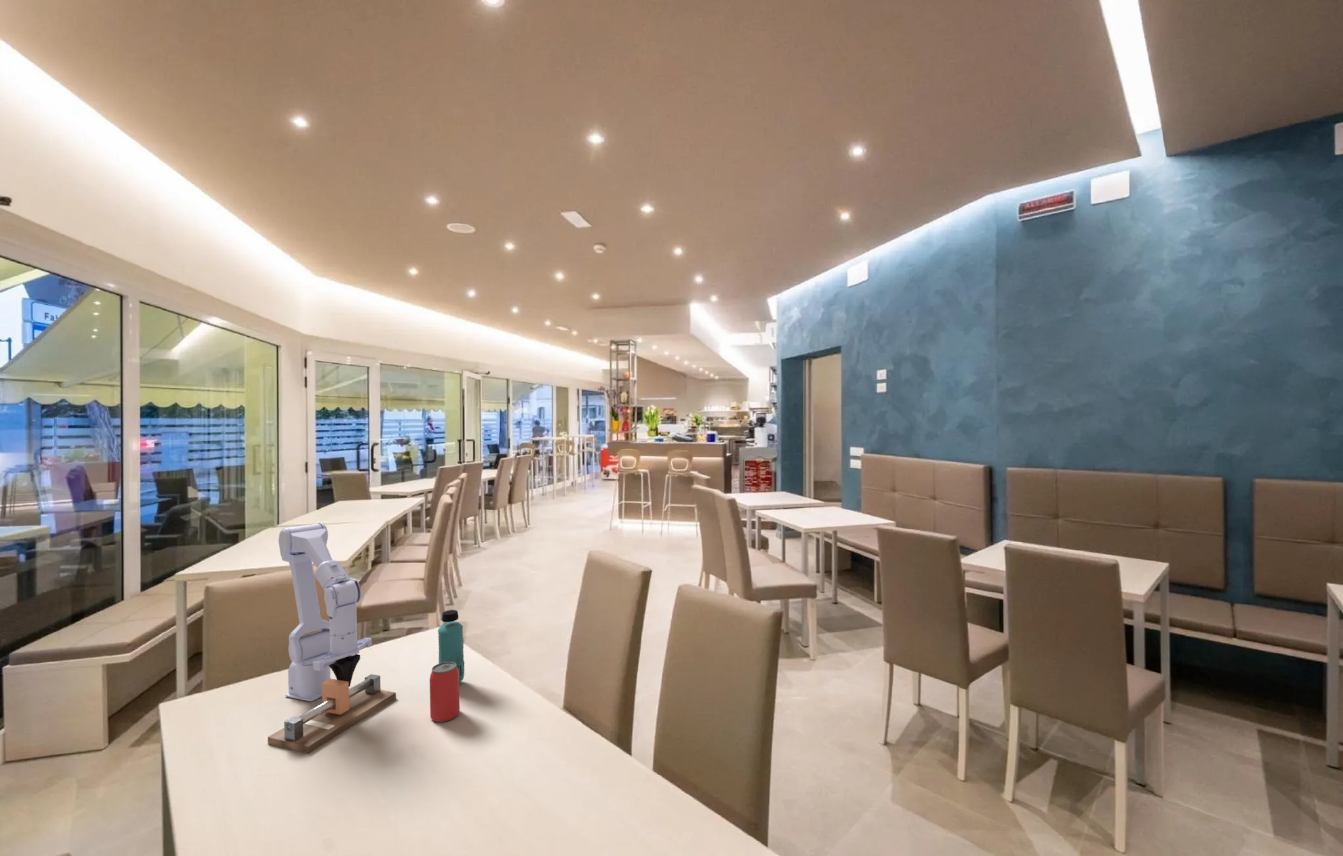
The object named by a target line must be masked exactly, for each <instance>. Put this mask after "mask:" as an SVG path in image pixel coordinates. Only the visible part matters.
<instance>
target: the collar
mask: <svg viewBox="0 0 1343 856" xmlns="http://www.w3.org/2000/svg"><path fill="white" fill-rule="evenodd" d="M349 689H350V687H349V682H347V681H342V680H337V678H336V679H335V678H331V679H329V680H327V681H325V682H323V683H322V697H321V701H322V703H321V704H323V703H324V702H326V701H328V700H330V699H332V698H335V699H336V706H335V707H333V708H331V709H329V710H328V711H326V712H330V713H335V714H340V715H341V714H342V713H344V712H346V711H347V710H349Z"/></svg>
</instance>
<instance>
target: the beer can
mask: <svg viewBox="0 0 1343 856" xmlns="http://www.w3.org/2000/svg"><path fill="white" fill-rule="evenodd" d="M429 701H430V702H429V707H430V708H429V709H430V710H429V711H430V715H429V716H430V718H431V720H432V721H433V722H436V723H444V722H445V723H446V722H448V721H452V720H453V719H455V718H457V716H458V715H459V714H460V709H461V706H460V703H461V702H460V682H459V671H458V669H457V664H456V663H454V662H443V663H437V664H435V665H434V666H433V667H432V668H431V673H430V675H429Z"/></svg>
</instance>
